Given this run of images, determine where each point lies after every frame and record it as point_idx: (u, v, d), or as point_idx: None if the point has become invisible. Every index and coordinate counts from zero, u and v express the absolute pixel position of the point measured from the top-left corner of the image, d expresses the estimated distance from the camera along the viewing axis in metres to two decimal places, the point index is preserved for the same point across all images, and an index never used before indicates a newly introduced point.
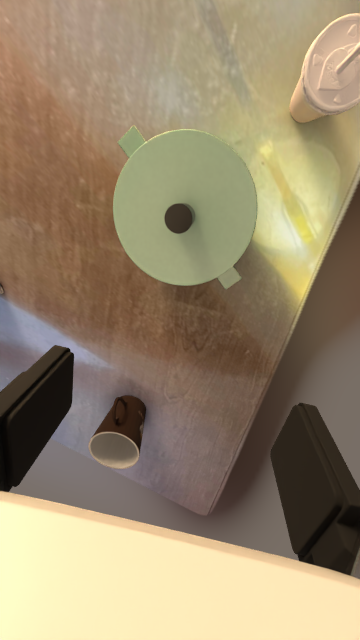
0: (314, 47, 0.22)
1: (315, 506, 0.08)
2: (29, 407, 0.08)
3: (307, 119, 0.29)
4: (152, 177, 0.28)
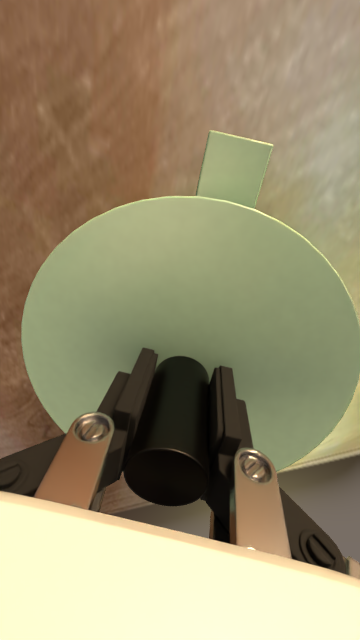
0: None
1: (209, 444, 0.09)
2: (142, 402, 0.09)
3: None
4: (201, 278, 0.10)
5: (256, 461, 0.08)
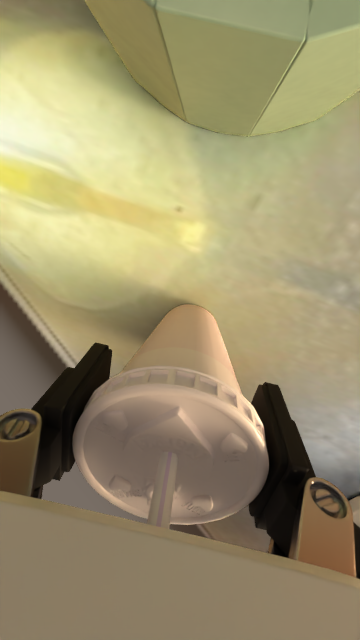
0: (260, 456, 0.08)
1: None
2: (82, 398, 0.09)
3: (164, 321, 0.14)
4: None
5: (330, 495, 0.07)
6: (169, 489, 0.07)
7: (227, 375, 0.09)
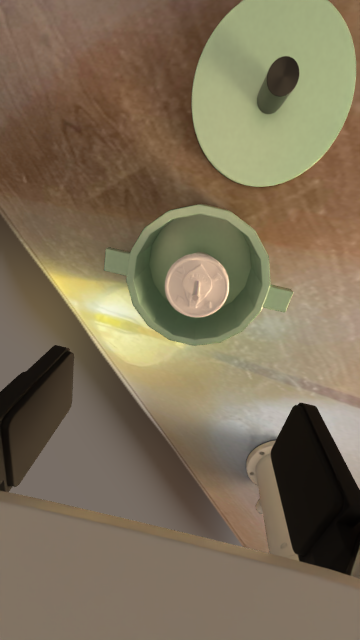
0: (225, 281, 0.25)
1: (315, 506, 0.08)
2: (29, 407, 0.08)
3: None
4: (320, 106, 0.26)
5: None
6: (198, 284, 0.24)
7: None
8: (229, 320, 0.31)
